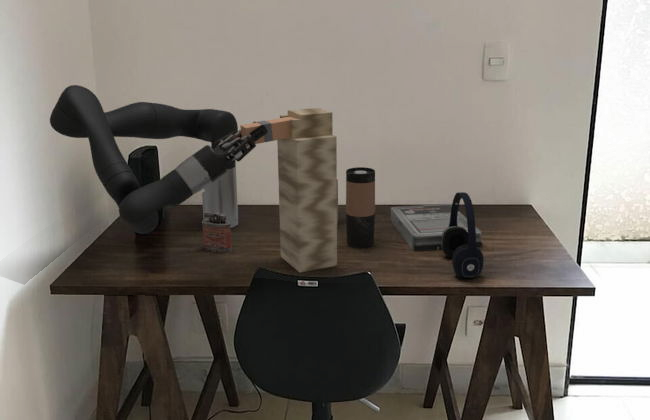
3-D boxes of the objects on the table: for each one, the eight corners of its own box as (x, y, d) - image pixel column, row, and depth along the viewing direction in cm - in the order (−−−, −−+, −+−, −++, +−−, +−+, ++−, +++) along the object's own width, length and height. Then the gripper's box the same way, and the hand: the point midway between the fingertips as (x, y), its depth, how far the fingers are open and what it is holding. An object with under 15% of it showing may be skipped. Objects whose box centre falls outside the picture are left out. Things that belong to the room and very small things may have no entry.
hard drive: (413, 252, 182) (414, 236, 180) (389, 221, 207) (389, 206, 206) (482, 248, 184) (482, 232, 183) (449, 218, 210) (450, 203, 208)
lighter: (234, 248, 185) (232, 212, 182) (228, 253, 181) (226, 216, 179) (207, 245, 187) (204, 209, 184) (200, 249, 184) (198, 213, 181)
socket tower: (299, 272, 168) (296, 117, 157) (280, 256, 178) (276, 109, 168) (337, 265, 172) (336, 113, 161) (316, 250, 183) (314, 106, 172)
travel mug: (378, 241, 189) (379, 168, 183) (368, 250, 182) (369, 175, 177) (352, 237, 192) (352, 166, 186) (341, 246, 186) (341, 172, 180)
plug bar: (248, 145, 158) (246, 127, 157) (242, 142, 162) (240, 124, 160) (304, 134, 164) (303, 117, 162) (297, 131, 167) (296, 114, 166)
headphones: (438, 252, 180) (441, 183, 175) (465, 252, 180) (468, 183, 175) (455, 283, 161) (458, 206, 156) (485, 282, 161) (489, 206, 156)
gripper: (200, 176, 165) (259, 134, 168) (218, 190, 153) (281, 145, 156) (183, 150, 162) (243, 108, 165) (200, 163, 149) (264, 117, 153)
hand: (261, 126), depth 161 cm, fingers closed on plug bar, 4 cm apart
